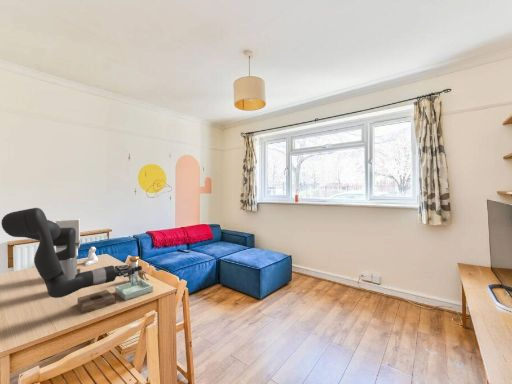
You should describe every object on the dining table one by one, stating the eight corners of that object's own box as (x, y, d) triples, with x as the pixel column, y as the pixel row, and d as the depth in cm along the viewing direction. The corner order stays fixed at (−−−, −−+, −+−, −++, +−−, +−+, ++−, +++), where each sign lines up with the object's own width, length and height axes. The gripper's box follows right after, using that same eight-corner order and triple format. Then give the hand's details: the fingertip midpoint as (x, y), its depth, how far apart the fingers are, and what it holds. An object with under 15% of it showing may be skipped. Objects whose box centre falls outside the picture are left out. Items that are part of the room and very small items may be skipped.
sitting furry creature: (81, 263, 169) (81, 246, 168) (95, 260, 175) (95, 244, 175) (85, 266, 163) (85, 248, 162) (100, 263, 169) (100, 246, 169)
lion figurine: (120, 284, 134) (119, 268, 133) (123, 280, 139) (123, 265, 139) (147, 282, 136) (147, 267, 136) (150, 278, 141) (150, 264, 141)
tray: (115, 292, 123) (115, 286, 123) (142, 284, 133) (142, 279, 133) (125, 300, 114) (125, 294, 114) (153, 291, 124) (153, 285, 124)
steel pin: (127, 284, 123) (127, 257, 123) (136, 282, 126) (137, 255, 126) (131, 286, 120) (131, 259, 120) (140, 284, 123) (140, 257, 123)
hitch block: (77, 304, 110) (77, 297, 110) (106, 295, 119) (106, 289, 119) (84, 313, 102) (84, 306, 102) (115, 303, 111) (115, 297, 111)
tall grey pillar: (79, 277, 143) (78, 219, 142) (56, 281, 137) (55, 221, 136) (80, 271, 152) (79, 217, 151) (58, 275, 146) (58, 218, 145)
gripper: (107, 271, 108) (145, 262, 120) (98, 264, 117) (134, 257, 130) (107, 287, 108) (145, 277, 120) (98, 279, 117) (134, 270, 130)
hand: (139, 266), depth 125 cm, fingers closed on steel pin, 3 cm apart
